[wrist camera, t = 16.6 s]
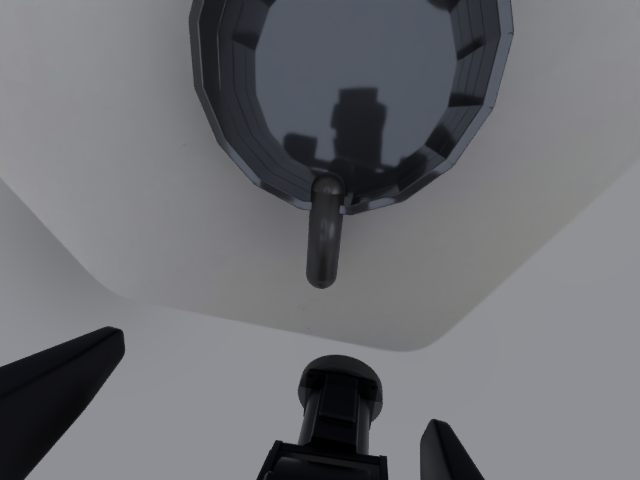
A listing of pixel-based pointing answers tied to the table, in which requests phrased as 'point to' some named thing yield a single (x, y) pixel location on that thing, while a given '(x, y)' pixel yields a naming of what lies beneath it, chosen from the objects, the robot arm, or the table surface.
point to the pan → (348, 89)
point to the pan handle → (324, 229)
